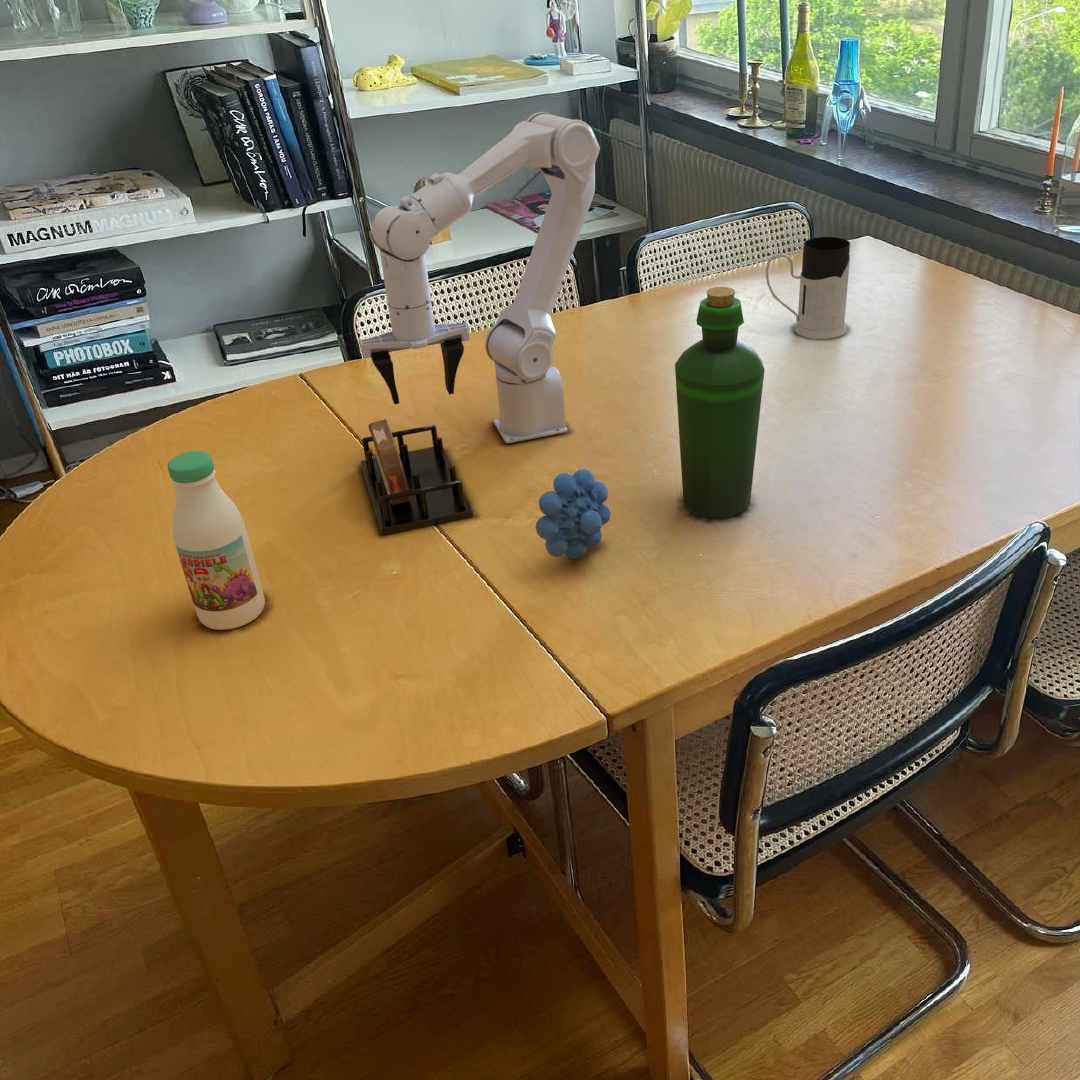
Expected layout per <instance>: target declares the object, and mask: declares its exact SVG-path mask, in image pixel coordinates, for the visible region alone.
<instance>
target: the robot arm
mask: <svg viewBox="0 0 1080 1080" xmlns="http://www.w3.org/2000/svg"><path fill="white" fill-rule="evenodd" d="M600 151H601V147H600V144H599V141H598V140H597V137H596V135H595V133H594V130H593V129H592V127H591V126H590V125H589V124H588V123H587V122H585V121H583V120H581V119H572V118H567V117H563V116H558V115H553V114H552V113H549V112H548V111H547V112H546V111H538V112H535V113H533V114H532V115H530V116H529V117H528V118H527V119H526V120H523V121H521V122H519V123H517V124H516V125H515V126H514V127H513V129H512V130H511V132H510V133H508V135H506V136H505V137H503V138H502V139H501V140H500V141H499V142H498V143H496V144H495V145H494V146H492V147H491V148H489V150H487V151H486V152H485V153H483V154H482V155H481V156H480V157H478V158H477V159H476V160H475V161H474V162H472V163H471V164H469V165H468V166H467V167H466V168H464V169H463V170H462V171H461V172H460V173H458V174H455V173H452V172H448V171H446V172H443V173H441V174H440V173H438V172H434V173H433V174H431V176H429V177H428V179H429V182H428V183H427V184H426V185H424V186H422V187H421V188H420V189H418V190H417V191H416V192H414V193H413V194H411V195H410V196H407V195H404V196H403V197H401V198H400V199H399V205H393V206H391V205H389V206H385V207H383V208H382V209H380V210H379V211H378V212H377V213H376V214H375V216H374V217H375V218H374V219H373V220H372V222H371V229H370V231H368V236H369V239H370V241H371V242H372V244H373V245H374V246H375V248H377V249H378V250H379V255H380V260H381V267H382V268H381V269H382V277H383V282H384V288H385V295H386V301H387V308H388V313H389V320H390V326H391V331H388V332H384V333H382V334H379V335H375V336H371V337H368V338H362V339H359V346H360V351H361V356H362V358H363V359H369V358H371V361H372V364H373V365H374V367H375V368H376V369H377V372H379V374H380V376H381V377H382V379H383V380H384V382H385V383H386V386H387V388H388V390H389V393H390V395H391V400H392V403H393V404H394V405H399V404H400V398H399V397H400V396H399V393H398V390H397V385H396V379H395V371H394V363H393V361H392V357H391V354H390V353H393V352H399V351H405V350H411V349H413V350H417V349H425V348H427V347H428V346H433V345H439V344H440V349H441V356H442V361H443V371H444V384H445V389H446V391H447V393H448V395H449V396H450V395H454V394H455V383H456V376H457V372H458V367H459V365H460V362H461V360H462V357H463V355H464V351H465V346H464V344H463V342H468V341H470V340H471V339H470V330H469V326H468V324H467V323H466V321H465V322H457V323H441V324H439V323H438V324H435V319H434V312H433V305H432V296H431V288H430V282H429V281H430V280H429V274H428V267H427V261H426V253H427V252H428V249H429V248H430V245H431V242H432V240H433V238H434V237H436V236H437V235H438V234H440V233H441V232H443V231H444V230H446V229H447V228H449V227H450V226H451V225H453V224H454V223H456V222H457V221H458V220H460V219H461V218H464V216H466V215H467V214H469V213H470V212H471V210H472V206H473V201H474V199H475V197H477V196H478V195H480V194H481V193H483V192H484V191H486V190H489V188H491V187H492V186H494V185H496V184H497V183H499V182H501V181H502V180H504V179H505V178H507V177H509V176H510V175H512V174H514V173H516V172H517V171H518V170H520V169H521V168H538V170H539V171H540V172H541V173H542V175H543V176H544V180H545V181H546V183H547V185H548V187H549V189H550V192H551V195H550V197H549V202H548V203H547V207H546V210H545V213H544V216H543V218H542V221H541V224H540V227H539V230H538V233H537V235H536V238H535V241H534V244H533V247H532V249H531V252H530V256H529V258H528V261H527V263H526V266H525V270H524V272H523V275H522V278H521V281H520V284H519V286H518V290H517V293H516V295H515V298H514V301H513V302H512V303H511V304H509V305H508V306H506V307H505V308H503V309H501V311H500V313H499V316H498V319H497V321H496V322H495V324H494V325H493V326H492V327H491V328H489V331H488V332H487V334H486V337H485V340H484V350H485V353H486V355H487V357H488V358H489V359H490V360H491V361H493V362H494V369H495V382H496V391H497V400H498V411H499V418H494V419H493V424H494V425H495V428H496V430H497V431H498V433H499V435H500V436H501V437H502V439H503V441H504V443H505V444H513V443H517V442H518V443H519V442H523V441H529V440H534V439H538V438H544V437H549V436H554V435H560V434H565V433H567V432H568V427H567V423H566V421H567V420H566V409H565V406H566V405H565V393H564V385H563V379H562V377H561V373H560V371H559V370H558V368H557V367H556V366H551V365H552V363H553V358H554V353H553V352H554V351H553V348H554V347H553V346H554V343H555V339H556V337H557V334H556V329H555V327H554V324H553V321H552V318H551V315H552V312H553V310H554V306H555V304H556V301H557V299H558V296H559V293H560V289H561V287H562V285H563V282H564V279H565V276H566V274H567V271H568V267H569V265H570V262H571V259H572V256H573V254H574V251H575V248H576V247H577V243H578V241H579V238H580V235H581V232H582V229H583V227H584V224H585V221H586V218H587V215H588V213H589V210H590V207H591V204H592V202H593V199H594V196H595V192H596V162H597V159H598V157H599V153H600Z"/></svg>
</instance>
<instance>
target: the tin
mask: <svg viewBox="0 0 1080 1080" xmlns="http://www.w3.org/2000/svg"><path fill="white" fill-rule="evenodd" d="M367 427H368V430H369V433H370V437H371V436H372V439H373V441H372V442H373V445H374V453H375V458H377V461H378V465H379V469H380V472H381V475H382V479H383V482H384V485H385V489H386V492H387V495H389V494H394V493H399V492H404V491H409V490H408V486H407V482H406V478H405V474H404V470H403V467H402V463H401V460H400V456H399V453H400V452H399V449H398V447H397V444H396V442H395V441H396V440H395V439H394V438H395V437H393V436H392V431H391V427H390V425H389V423H388V419H387V418H384V419H382V420H377V421H373V422H370V423H369V424H368V425H367ZM410 501H411V500H410V496H407V497H402V498H397V499H392V500H390V503H391V504H392V505H396V504H400V503H404V502H410Z"/></svg>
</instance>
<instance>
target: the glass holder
mask: <svg viewBox="0 0 1080 1080" xmlns="http://www.w3.org/2000/svg"><path fill="white" fill-rule="evenodd" d="M802 247H803V248H802V261H801V263H802V264H801V272H800V275H794V263H793V260H792V259H791V257H790V256H789V255H788V254H785V253H776V254H774V255H772V256H770V258H769V259H768V261H767V263H766V267H765V279H766V284H767V287H768V289H769V292H770V293H771V296H772V297H773V298H774V299H775V300H776V301H777V302H778V303H779V304H780V305H782V306H783V307H784V308H786V309H787V311H789V312H791V313H792V314H793V315H794V316H795V322H796V324H795V327H794V332H795V333H796V335H798V336H800V337H804V338H806V339H807V338H808V339H813V340H814V339H815V340H827V339H829V340H830V339H836V338H838V337H841V336H843V335H844V334H846V333H847V326H846V323H845V320H846V311H847V310H846V308H847V298H848V297H847V296H848V287H849V286H848V285H849V275H850V262H851V255H850V249H851V242H850V241H849V240H848V239H846V238H842V237H838V236H837V237H836V236H818V237H813V238H810V239H807V240H805V241H803V245H802ZM779 257H784V258H786V259H787V260H788V262H789V268H790V275H791V277H792V278H793V279H796V280H799V294H798V297H799V298H798V310H797V312H796V311H795V310H794V309H792V308H791V307H790V306H789V305H787V304H786V303H784V302H783V301H782V300H781V299H780V298H779V297H778V296H777V295H776V293H775V292H774V291H773V288H772V286H771V282H770V279H769V277H770V276H769V267H770V264H771V262H772V261H773V260H775V259H776V258H779Z"/></svg>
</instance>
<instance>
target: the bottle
mask: <svg viewBox="0 0 1080 1080" xmlns="http://www.w3.org/2000/svg"><path fill="white" fill-rule="evenodd" d="M735 296H736V290H735V289H734V288H733V287H729V286H714V287H711V288H708V289H706V297H704V298H703V299H702V300H701V301H700V302H699V306H698V310H697V316H696V319H695V320H696V325H697V326H699V327H701V335H702V336H701V337H702V339H700V340H698V341H697V342H695V343H694V344H692V345H691V346H689V347H688V348H686V349H685V350H684V351H683V352H682V353H681V354H680V356H679V357H678V359H677V360H676V361H675V363H674V376H675V388H676V405H677V421H678V423H677V424H678V439H679V452H680V453H679V454H680V455H679V456H680V469H681V470H680V471H681V487H682V488H681V489H682V501H683V506H684V507H685V508H686V509H688V511H690V512H691V513H693V514H696V515H699V516H703V517H707V518H728V517H731V516H734V515H737V514H741V513H743V512H744V511H745V510H746V509H747V508H748V506H749V505H750V504H751V497H752V489H753V480H754V472H755V463H756V461H755V460H756V452H757V442H758V434H759V425H760V416H761V405H762V398H763V388H764V378H765V367H764V363H763V360H762V359H761V357H760V355H759V354H758V352H757V351H756V349H755V348H753V347H751V346H750V345H748V344H747V343H745V342H743V341H741V340H740V339H738V335H739V328H740V326H742V325H743V324H745V319H744V315H743V314H744V313H743V308H742V303H741V300H740V299H739V298H737V297H735Z"/></svg>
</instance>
